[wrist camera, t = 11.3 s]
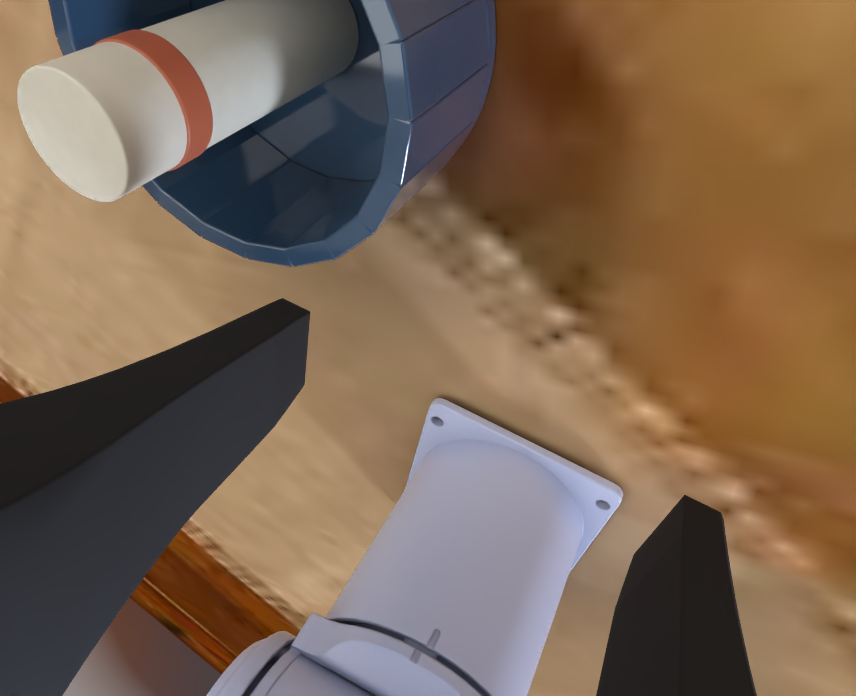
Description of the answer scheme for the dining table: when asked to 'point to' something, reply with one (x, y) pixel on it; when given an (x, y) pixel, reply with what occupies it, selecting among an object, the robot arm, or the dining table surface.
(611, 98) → the dining table surface
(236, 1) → the dowel
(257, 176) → the holder
